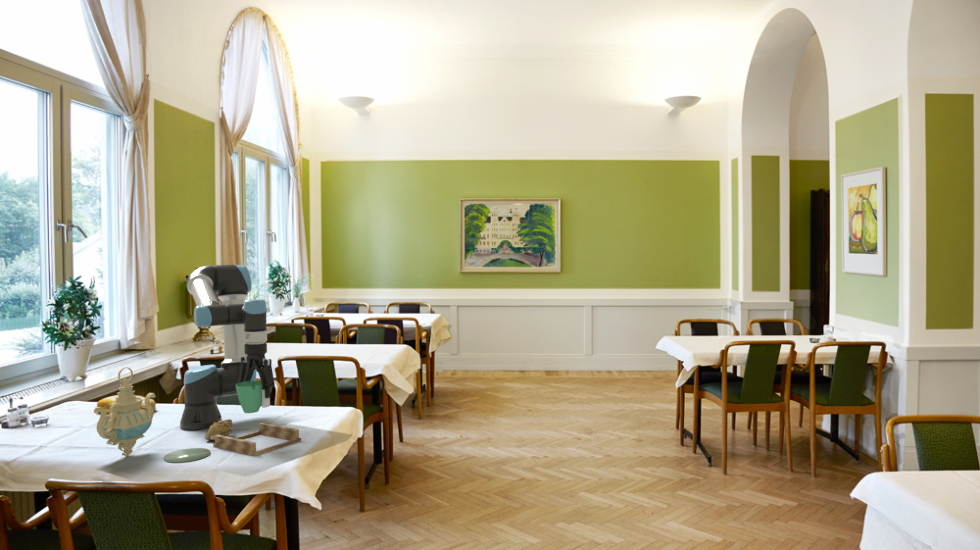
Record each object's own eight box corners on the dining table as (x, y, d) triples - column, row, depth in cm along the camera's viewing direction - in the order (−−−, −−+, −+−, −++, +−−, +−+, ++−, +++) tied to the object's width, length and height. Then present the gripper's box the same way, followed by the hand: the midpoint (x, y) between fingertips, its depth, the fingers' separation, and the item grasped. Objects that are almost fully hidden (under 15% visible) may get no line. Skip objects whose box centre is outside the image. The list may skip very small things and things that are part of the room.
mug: (251, 416, 210) (250, 387, 210) (230, 413, 214) (229, 385, 214) (281, 406, 224) (281, 379, 224) (261, 404, 228) (260, 377, 227)
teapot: (112, 468, 193) (109, 374, 193) (82, 466, 196) (79, 373, 195) (168, 446, 216) (166, 362, 216) (141, 445, 219) (139, 361, 219)
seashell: (208, 443, 228) (218, 417, 233) (229, 447, 229) (239, 421, 233) (200, 437, 220) (211, 411, 225) (223, 442, 220) (233, 415, 225)
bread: (115, 409, 277) (114, 392, 277) (164, 412, 271) (163, 394, 270) (89, 416, 264) (88, 398, 264) (139, 419, 258) (139, 401, 257)
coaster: (154, 458, 203) (154, 456, 203) (194, 447, 215) (194, 445, 215) (180, 465, 196) (179, 463, 196) (219, 453, 208) (219, 451, 208)
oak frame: (213, 446, 216) (213, 435, 216) (260, 433, 233) (260, 422, 233) (254, 455, 205) (254, 443, 204) (300, 440, 222) (300, 429, 222)
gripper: (226, 342, 221) (228, 403, 221) (267, 346, 209) (268, 411, 210) (244, 339, 227) (245, 399, 228) (285, 343, 216) (286, 406, 216)
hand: (256, 405), depth 219 cm, fingers closed on mug, 9 cm apart
